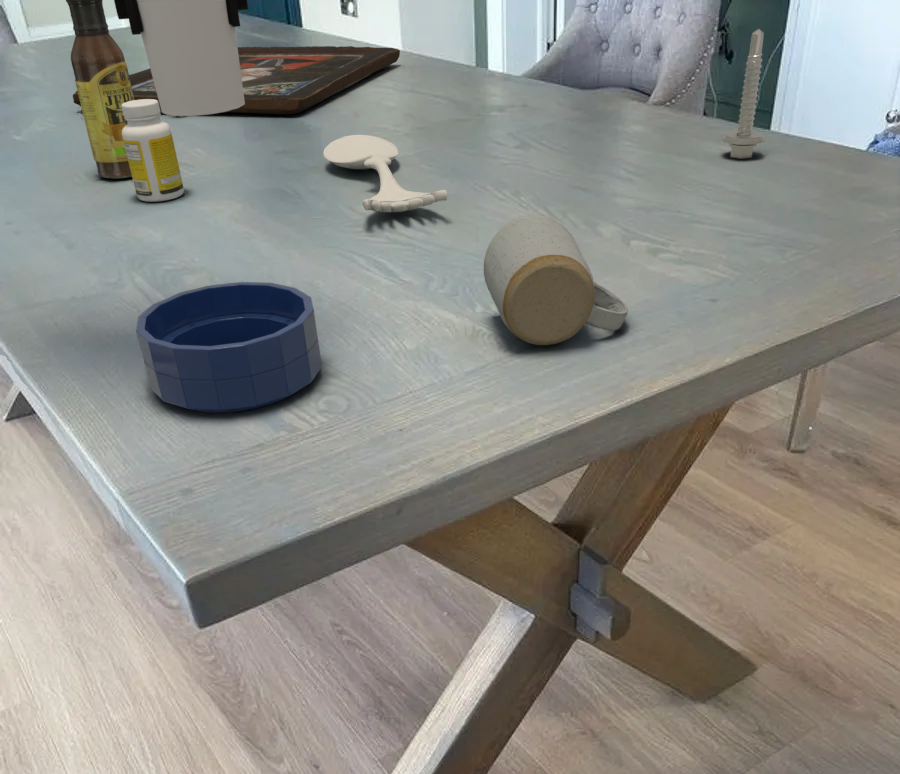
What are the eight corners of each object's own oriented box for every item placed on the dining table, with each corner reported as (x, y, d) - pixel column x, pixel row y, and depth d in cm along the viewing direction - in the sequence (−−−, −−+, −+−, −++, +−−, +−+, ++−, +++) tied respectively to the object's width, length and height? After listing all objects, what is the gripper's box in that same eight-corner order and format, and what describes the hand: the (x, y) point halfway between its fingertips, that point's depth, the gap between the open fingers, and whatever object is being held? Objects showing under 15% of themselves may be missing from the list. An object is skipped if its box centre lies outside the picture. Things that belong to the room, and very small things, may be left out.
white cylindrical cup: (143, 120, 62) (100, -63, 56) (168, 99, 68) (131, -70, 61) (241, 114, 62) (209, -71, 56) (259, 94, 67) (231, -77, 61)
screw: (718, 160, 109) (722, 150, 113) (761, 162, 108) (763, 151, 112) (734, 32, 101) (737, 25, 105) (780, 32, 100) (782, 25, 104)
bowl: (118, 394, 68) (99, 327, 64) (236, 334, 75) (224, 272, 72) (241, 433, 62) (227, 363, 59) (355, 364, 70) (347, 298, 67)
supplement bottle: (188, 188, 111) (168, 96, 105) (180, 201, 107) (160, 105, 100) (142, 191, 111) (120, 99, 105) (133, 204, 106) (109, 109, 100)
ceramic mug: (501, 356, 69) (502, 251, 65) (482, 314, 76) (482, 216, 71) (639, 344, 70) (650, 240, 66) (609, 304, 77) (617, 207, 72)
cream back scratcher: (365, 234, 94) (362, 198, 92) (319, 160, 118) (316, 130, 116) (452, 223, 95) (451, 188, 93) (389, 152, 120) (387, 122, 118)
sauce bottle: (128, 183, 114) (81, -11, 102) (88, 179, 116) (37, -11, 104) (160, 169, 118) (119, -18, 106) (121, 166, 121) (76, -18, 108)
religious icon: (69, 114, 149) (63, 93, 147) (211, 63, 182) (208, 45, 180) (297, 119, 138) (294, 96, 136) (403, 64, 171) (402, 45, 169)
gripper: (268, -351, 55) (310, 11, 66) (-40, -344, 52) (58, 31, 64) (277, -377, 49) (322, 25, 60) (-68, -371, 47) (45, 47, 58)
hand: (186, 24), depth 62 cm, fingers closed on white cylindrical cup, 5 cm apart
